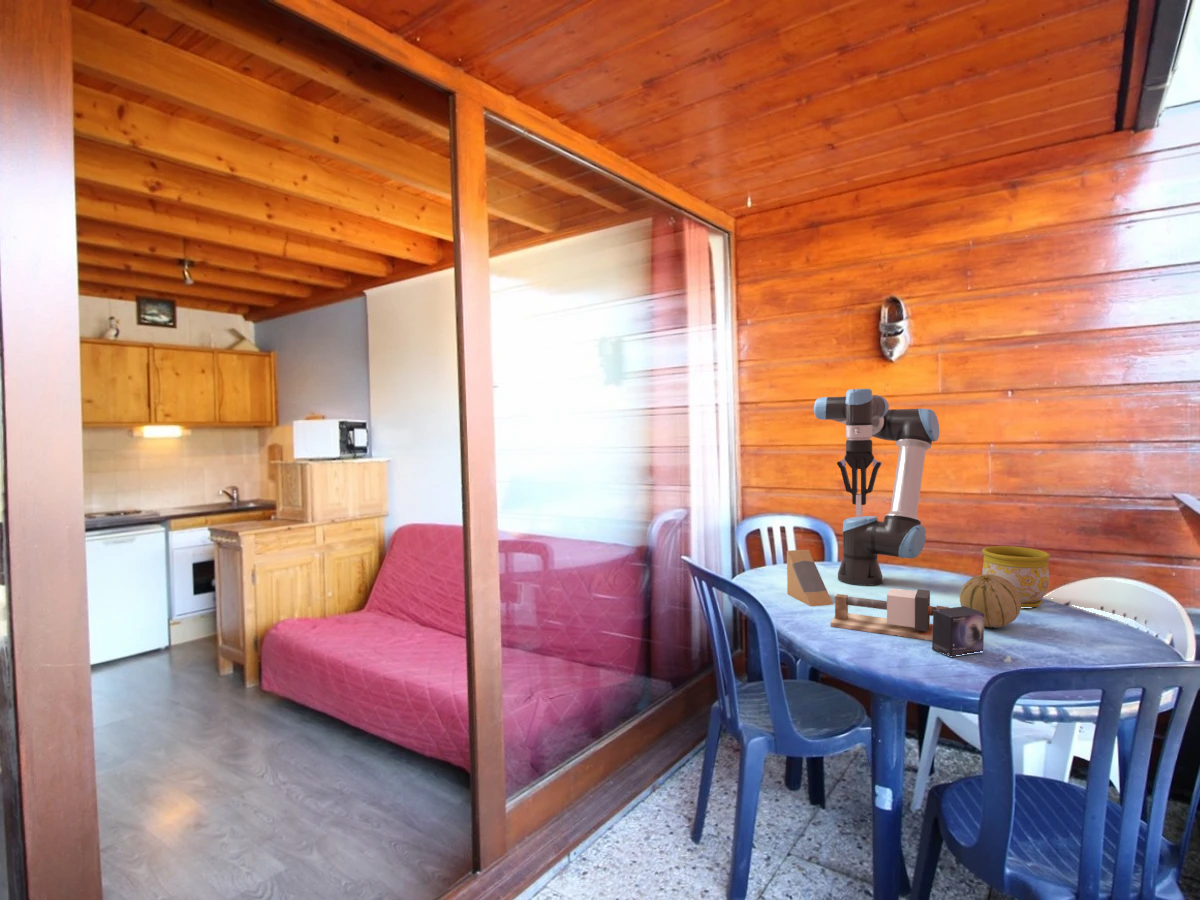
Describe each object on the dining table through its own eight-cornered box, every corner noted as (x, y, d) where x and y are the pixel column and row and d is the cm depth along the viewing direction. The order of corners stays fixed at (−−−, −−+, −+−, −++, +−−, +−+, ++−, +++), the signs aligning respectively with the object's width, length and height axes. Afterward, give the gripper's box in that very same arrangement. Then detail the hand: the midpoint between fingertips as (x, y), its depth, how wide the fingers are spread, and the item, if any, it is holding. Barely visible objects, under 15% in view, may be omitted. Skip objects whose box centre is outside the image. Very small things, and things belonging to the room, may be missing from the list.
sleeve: (886, 623, 178) (887, 595, 178) (890, 615, 185) (890, 588, 184) (915, 627, 174) (915, 598, 174) (917, 619, 181) (917, 591, 181)
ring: (914, 629, 174) (915, 597, 174) (917, 620, 182) (917, 589, 181) (927, 631, 172) (927, 598, 172) (929, 622, 180) (929, 590, 180)
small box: (951, 658, 159) (951, 616, 158) (930, 649, 165) (931, 609, 164) (985, 653, 162) (985, 612, 161) (963, 645, 168) (964, 605, 167)
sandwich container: (810, 607, 203) (810, 560, 203) (786, 594, 218) (786, 550, 218) (834, 605, 205) (834, 558, 204) (809, 592, 220) (809, 549, 219)
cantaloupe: (1019, 622, 184) (1020, 570, 184) (1022, 638, 172) (1022, 582, 171) (960, 615, 192) (960, 565, 191) (958, 629, 179) (959, 576, 179)
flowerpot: (1038, 615, 191) (1039, 560, 190) (972, 602, 204) (972, 551, 204) (1057, 603, 202) (1058, 551, 201) (994, 592, 216) (994, 543, 215)
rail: (830, 626, 184) (830, 599, 184) (837, 615, 194) (837, 590, 193) (949, 643, 169) (950, 614, 169) (951, 631, 178) (951, 603, 178)
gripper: (834, 439, 199) (834, 515, 200) (880, 439, 192) (880, 518, 193) (839, 438, 205) (839, 512, 206) (883, 438, 198) (883, 514, 200)
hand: (859, 515), depth 200 cm, fingers closed
